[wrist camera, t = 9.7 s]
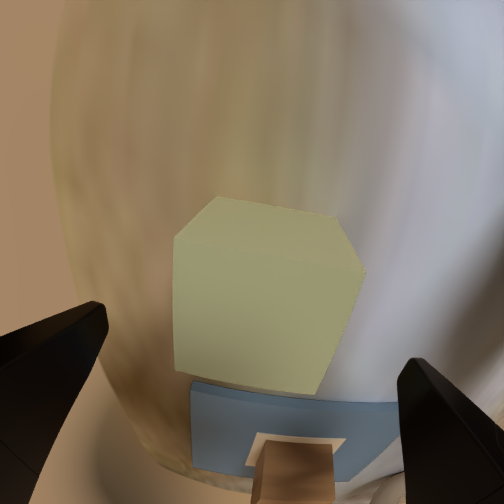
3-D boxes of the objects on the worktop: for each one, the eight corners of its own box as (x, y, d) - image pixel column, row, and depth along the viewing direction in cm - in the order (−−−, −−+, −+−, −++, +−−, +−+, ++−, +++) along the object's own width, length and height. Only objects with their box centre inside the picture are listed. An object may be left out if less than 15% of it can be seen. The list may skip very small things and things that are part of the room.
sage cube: (335, 217, 11) (366, 271, 7) (307, 314, 14) (314, 395, 9) (216, 196, 12) (173, 237, 7) (206, 297, 14) (174, 370, 9)
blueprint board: (419, 401, 16) (422, 410, 15) (347, 475, 21) (348, 482, 20) (193, 380, 16) (189, 391, 15) (194, 461, 22) (192, 468, 21)
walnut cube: (332, 444, 17) (335, 500, 12) (312, 467, 19) (311, 515, 14) (266, 439, 17) (260, 498, 12) (255, 463, 19) (249, 512, 14)
